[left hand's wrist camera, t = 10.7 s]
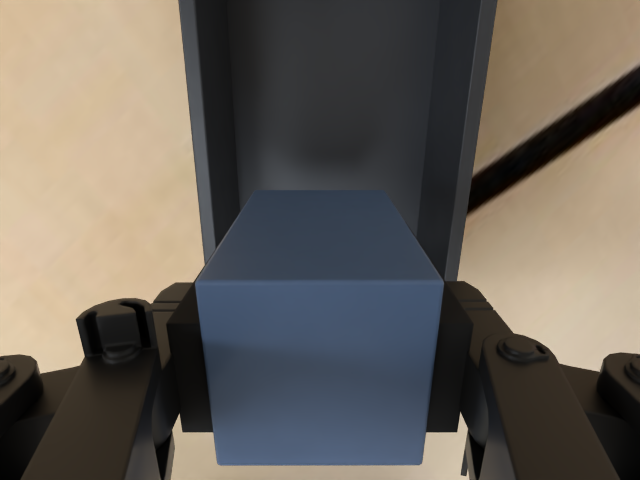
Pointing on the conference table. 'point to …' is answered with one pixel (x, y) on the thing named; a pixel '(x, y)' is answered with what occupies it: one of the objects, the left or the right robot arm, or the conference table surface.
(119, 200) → the conference table surface
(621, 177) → the conference table surface
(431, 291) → the block
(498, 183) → the conference table surface
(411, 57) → the tray
